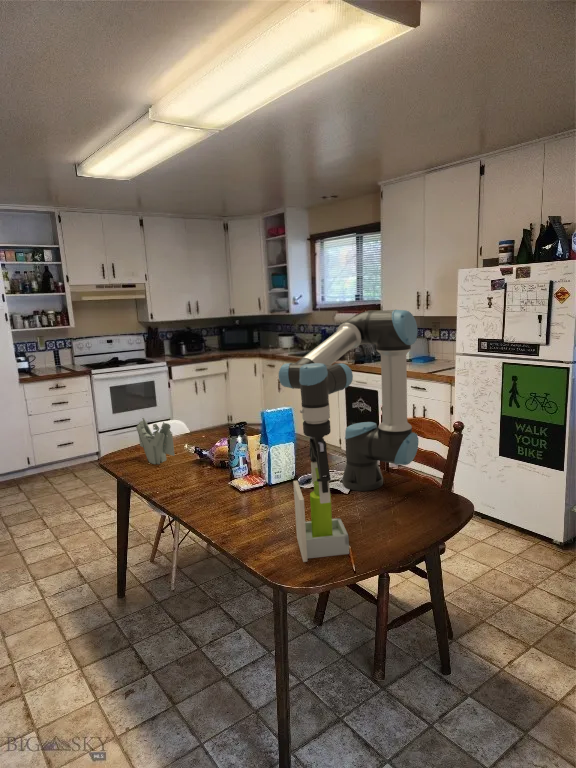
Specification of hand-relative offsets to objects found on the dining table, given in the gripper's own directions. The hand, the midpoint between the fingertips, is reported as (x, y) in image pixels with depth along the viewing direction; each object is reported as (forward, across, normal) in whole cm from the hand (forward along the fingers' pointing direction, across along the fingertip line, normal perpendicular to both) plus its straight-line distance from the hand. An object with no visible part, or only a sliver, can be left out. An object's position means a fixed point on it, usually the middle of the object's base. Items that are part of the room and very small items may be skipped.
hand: (320, 492), depth 138 cm
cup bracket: (+16, +1, 0) cm, 16 cm away
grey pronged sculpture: (+17, -91, -62) cm, 111 cm away
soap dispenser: (+14, 0, 0) cm, 14 cm away
